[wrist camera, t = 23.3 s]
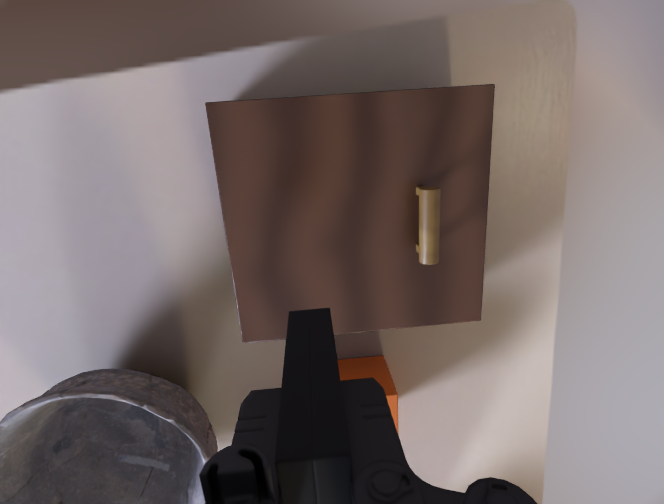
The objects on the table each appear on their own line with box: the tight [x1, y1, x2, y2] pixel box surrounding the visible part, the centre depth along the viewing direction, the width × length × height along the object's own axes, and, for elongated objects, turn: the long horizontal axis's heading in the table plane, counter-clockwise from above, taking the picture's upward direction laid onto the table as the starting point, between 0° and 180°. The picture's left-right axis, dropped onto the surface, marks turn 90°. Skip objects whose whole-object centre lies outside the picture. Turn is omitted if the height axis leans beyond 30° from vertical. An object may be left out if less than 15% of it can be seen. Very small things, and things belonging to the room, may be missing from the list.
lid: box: [205, 84, 495, 343], centre depth 31 cm, size 23×21×4 cm
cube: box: [338, 356, 398, 433], centre depth 41 cm, size 7×7×7 cm
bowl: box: [0, 369, 217, 504], centre depth 39 cm, size 21×21×10 cm
